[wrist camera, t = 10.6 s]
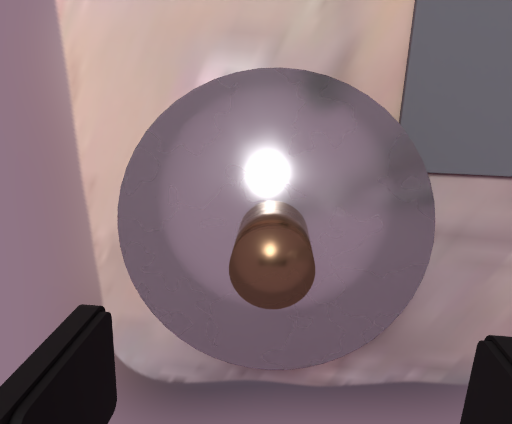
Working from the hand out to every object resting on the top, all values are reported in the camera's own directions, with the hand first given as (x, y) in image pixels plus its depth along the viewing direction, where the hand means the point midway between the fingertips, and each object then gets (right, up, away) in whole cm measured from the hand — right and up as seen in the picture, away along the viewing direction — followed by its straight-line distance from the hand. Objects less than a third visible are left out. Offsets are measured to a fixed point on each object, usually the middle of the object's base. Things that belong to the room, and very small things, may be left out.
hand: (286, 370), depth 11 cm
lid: (0, +3, +11) cm, 12 cm away
